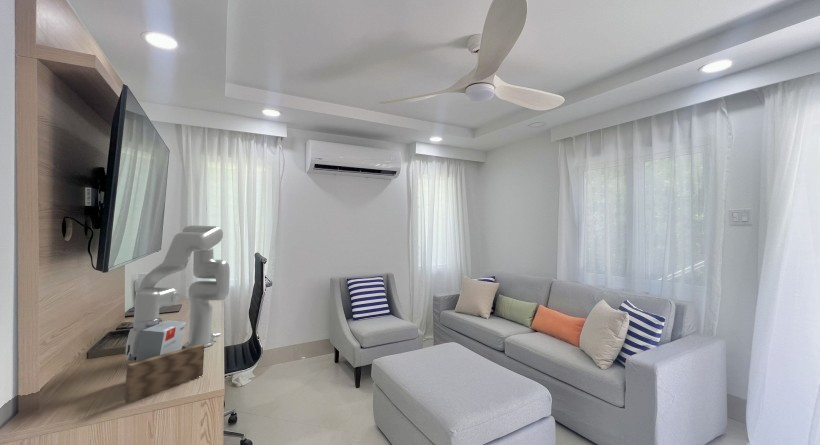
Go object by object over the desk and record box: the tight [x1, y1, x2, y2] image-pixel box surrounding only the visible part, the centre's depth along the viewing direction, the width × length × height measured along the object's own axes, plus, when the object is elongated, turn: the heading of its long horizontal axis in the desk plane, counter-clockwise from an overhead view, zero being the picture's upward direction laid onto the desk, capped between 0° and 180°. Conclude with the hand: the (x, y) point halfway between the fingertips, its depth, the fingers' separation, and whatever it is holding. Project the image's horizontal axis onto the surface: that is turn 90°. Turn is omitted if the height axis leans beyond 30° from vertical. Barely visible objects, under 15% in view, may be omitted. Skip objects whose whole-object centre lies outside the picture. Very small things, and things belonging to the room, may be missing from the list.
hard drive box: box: [135, 319, 187, 362], centre depth 124 cm, size 16×8×20 cm, turn 7°
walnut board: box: [124, 344, 205, 404], centre depth 118 cm, size 24×2×12 cm, turn 154°
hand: (143, 372), depth 124 cm, fingers closed
